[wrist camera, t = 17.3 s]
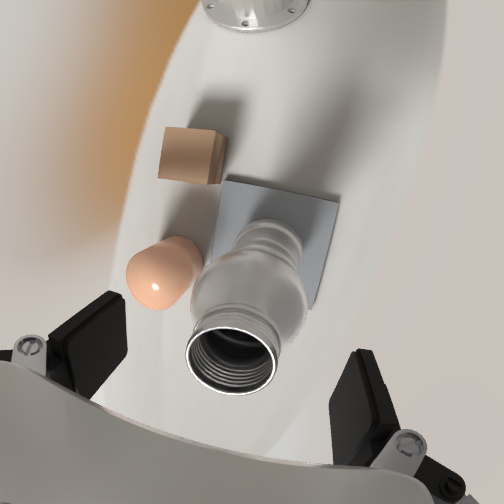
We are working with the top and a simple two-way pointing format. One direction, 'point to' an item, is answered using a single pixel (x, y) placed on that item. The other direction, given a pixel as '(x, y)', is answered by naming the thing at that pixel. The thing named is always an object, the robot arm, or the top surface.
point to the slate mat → (283, 209)
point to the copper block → (192, 155)
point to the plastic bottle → (247, 309)
